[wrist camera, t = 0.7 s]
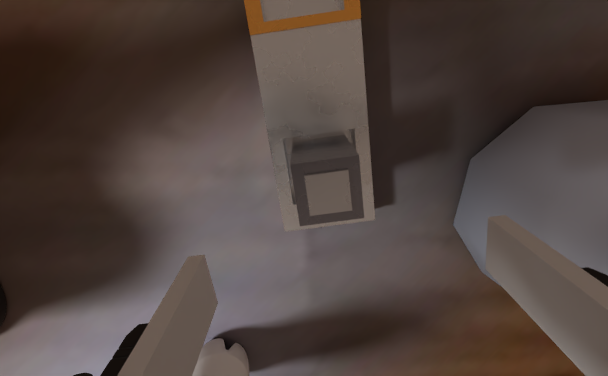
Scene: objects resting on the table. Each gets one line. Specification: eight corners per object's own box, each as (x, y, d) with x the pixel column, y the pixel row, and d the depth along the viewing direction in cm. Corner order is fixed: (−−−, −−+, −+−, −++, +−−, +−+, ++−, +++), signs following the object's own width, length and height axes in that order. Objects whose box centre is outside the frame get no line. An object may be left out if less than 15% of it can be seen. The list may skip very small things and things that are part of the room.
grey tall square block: (299, 190, 33) (299, 228, 25) (292, 142, 31) (289, 165, 23) (349, 184, 33) (365, 219, 25) (344, 134, 31) (359, 156, 23)
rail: (285, 221, 35) (284, 232, 32) (229, -103, 26) (222, -121, 23) (370, 210, 35) (375, 220, 32) (345, -122, 25) (349, -142, 23)
